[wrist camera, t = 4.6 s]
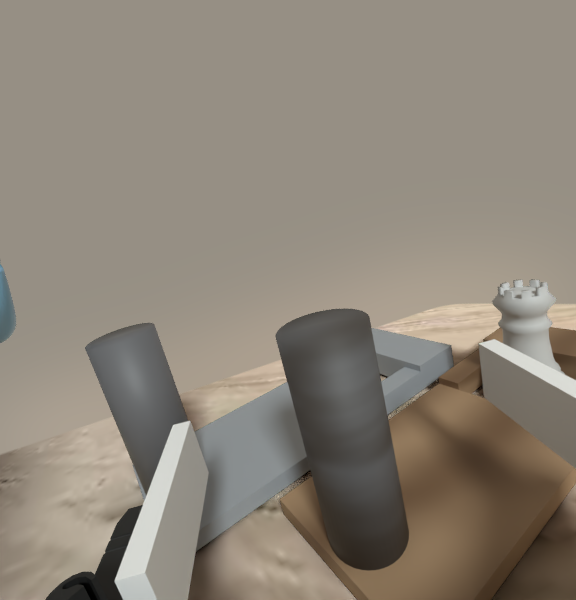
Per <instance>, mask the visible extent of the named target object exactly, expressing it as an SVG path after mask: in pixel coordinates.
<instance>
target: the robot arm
mask: <svg viewBox="0 0 576 600" xmlns="http://www.w3.org/2000/svg"><path fill="white" fill-rule="evenodd" d="M15 326H16V315H15V310H14V305H13V301H12V297H11V293H10V289H9V286H8V282H7V279H6V276H5V273H4V270H3V267H2V266H1V265H0V343H2V342H4V341H5V340H7V339H8V338H9V337H10V336H11V335H12V333H13V331H14V330H15ZM478 344H479V354H480V363H481V373H482V383H483V393H484V398H486V399H487V400H488V401H489V402H491V403H492V404H493V405H495V406H496V407H497V408H498V409H500V410H501V411H502V412H503V413H505V414H506V415H507V416H509V417H510V418H511V419H512V420H514V421H515V422H516V423H518V424H519V425H520V426H521V427H523V428H524V429H525V430H527V431H528V432H529V433H530V434H532V435H533V436H534V437H536V438H537V439H538V440H539V441H541V442H542V443H543V444H545V445H546V446H547V447H548V448H550V449H551V450H552V451H554V452H555V453H556V454H557V455H559V456H560V457H561V458H562V459H564V460H565V461H566V462H568V463H569V464H570V465H571V466H573V467H574V468H575V469H576V380H574V379H572V378H570V377H568V376H566V375H564V374H562V373H560V372H558V371H556V370H555V369H553V368H551V367H549V366H547V365H545V364H543V363H541V362H539V361H537V360H535V359H533V358H531V357H529V356H527V355H525V354H523V353H521V352H519V351H517V350H515V349H513V348H511V347H509V346H507V345H505V344H503V343H501V342H499V341H497V340H495V339H493V340H490V341H486V342H482V343H478ZM208 474H209V472H208V469H207V466H206V463H205V461H204V458H203V455H202V452H201V449H200V446H199V444H198V441H197V438H196V435H195V432H194V429H193V426H192V424H191V421H187V422H183V423H179V424H175V425H173V426H172V429H171V432H170V434H169V437H168V440H167V442H166V445H165V448H164V450H163V453H162V456H161V458H160V461H159V464H158V466H157V469H156V472H155V474H154V477H153V480H152V482H151V485H150V488H149V490H148V493H147V496H146V498H145V501H144V504H143V505H141V506H137V507H134V508H130V509H128V511H127V512H126V513H125V514H124V516H123V517H122V518H121V519H120V521H119V522H118V523H117V525H116V527H115V530H114V532H113V534H112V536H111V541H109V543H108V546H107V548H106V550H105V554H104V555H103V557H102V559H101V562H100V564H99V566H98V568H97V571H96V573H95V575H94V574H93V573H92V572H81V573H78V574H76V575H73V576H71V577H70V578H68V579H67V580H65V581H63V582H62V583H61V584H60V585H58V586H57V587H56V588H55V589H54V590H53V591H52V592H51V593H50V594H49V596H48V597H47V598H46V600H188V594H189V588H190V582H191V576H192V570H193V564H194V558H195V552H196V546H197V540H198V534H199V528H200V522H201V516H202V510H203V504H204V498H205V492H206V486H207V480H208Z"/></svg>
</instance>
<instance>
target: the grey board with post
mask: <svg viewBox="0 0 576 600" xmlns="http://www.w3.org/2000/svg"><path fill="white" fill-rule="evenodd" d="M371 329H372V334H373V340H374V345H375V351H376V356H377V361H378V367H379V372H380V374H382V375H385V376H388V378H386V379H385V380H383V381H382V382H381V383H382V388H383V394H384V399H385V404H386V410H387V415H388V414H389V413H391V412H392V411H394V410H395V409H396V408H398V407H399V406H401V405H402V404H403V403H405V402H406V401H408V400H409V399H410V398H412V397H413V396H415V395H416V394H417V393H419V392H420V391H422V390H423V389H424V388H426V387H427V386H429V385H430V384H431V383H433V382H434V381H436V380H437V379H438V377H440V376H441V375H442V374H444V373H445V372H447V371H448V370H450V369H451V368H452V367H454V364H453V356H452V348H451V345H447V344H443V343H438V342H434V341H429V340H425V339H420V338H415V337H411V336H406V335H402V334H397V333H392V332H388V331H383V330H379V329H374V328H371ZM85 349H86V351H87V354H88V356H89V358H90V361H91V364H92V366H93V368H94V371H95V373H96V376H97V378H98V380H99V383H100V385H101V388H102V390H103V393H104V394H105V397H106V400H107V402H108V405H109V407H110V409H111V412H112V414H113V417H114V419H115V422H116V424H117V426H118V429H119V431H120V434H121V436H122V439H123V441H124V443H125V446H126V448H127V451H128V453H129V455H130V458H131V460H132V463H133V468H134V471H135V474H136V477H137V480H138V483H139V486H140V489H141V493H142V496H143V499H144V501H145V498H146V496H147V493H148V490H149V488H150V485H151V482H152V480H153V477H154V474H155V472H156V469H157V466H158V464H159V461H160V458H161V456H162V453H163V450H164V448H165V445H166V442H167V440H168V437H169V434H170V432H171V429H172V426H173V425H175V424H179V423H183V422H187V421H188V419H187V416H186V413H185V410H184V408H183V405H182V402H181V399H180V396H179V393H178V391H177V388H176V385H175V382H174V380H173V376H172V374H171V371H170V368H169V365H168V362H167V360H166V357H165V354H164V351H163V349H162V345H161V342H160V340H159V337H158V334H157V331H156V328H155V326H154V324H152V323H142V324H137V325H133V326H129V327H125V328H122V329H119V330H116V331H114V332H111V333H108V334H106V335H104V336H102V337H99V338H98V339H96V340H94V341H92V342H90V343H89V344H88V345H87V346H86V347H85ZM195 435H196V438H197V441H198V444H199V446H200V449H201V452H202V455H203V458H204V461H205V463H206V466H207V469H208V472H209V474H208V480H207V486H206V492H205V498H204V504H203V510H202V516H201V522H200V528H199V534H198V540H197V546H196V551H197V550H199V549H200V548H202V547H203V546H204V545H206V544H207V543H209V542H210V541H211V540H213V539H214V538H216V537H217V536H218V535H220V534H221V533H223V532H224V531H225V530H227V529H228V528H230V527H231V526H232V525H234V524H235V523H237V522H238V521H239V520H241V519H242V518H244V517H245V516H246V515H248V514H249V513H251V512H252V511H253V510H255V509H256V508H258V507H259V506H260V505H262V504H263V503H265V502H266V501H267V500H269V499H270V498H272V497H273V496H274V495H276V494H277V493H279V492H280V491H281V490H283V489H284V488H286V487H287V486H288V485H290V484H291V483H293V482H294V481H295V480H297V479H298V478H300V477H301V476H302V475H304V474H305V473H307V472H308V471H309V470H310V466H309V463H308V459H307V455H306V451H305V447H304V443H303V440H302V436H301V432H300V428H299V424H298V421H297V417H296V413H295V409H294V405H293V401H292V398H291V394H290V390H289V386H288V382H286V383H284V384H282V385H281V386H279V387H277V388H275V389H273V390H271V391H269V392H268V393H266V394H264V395H262V396H260V397H258V398H256V399H255V400H253V401H251V402H249V403H247V404H245V405H243V406H241V407H240V408H238V409H236V410H234V411H232V412H230V413H228V414H227V415H225V416H223V417H221V418H219V419H217V420H215V421H214V422H212V423H210V424H208V425H206V426H204V427H202V428H201V429H199V430H197V431H195Z"/></svg>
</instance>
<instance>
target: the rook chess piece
mask: <svg viewBox="0 0 576 600" xmlns="http://www.w3.org/2000/svg"><path fill="white" fill-rule="evenodd" d="M522 282H523V281H522V280H514V281H513V283H514V287H513V288H509V283H507V282H505V283H502V284H500V287H498V295H497V296H496V297H495V299H494V300H493V301H492V302H493V305H494V306H495V307H496V308H497V309H498V310H499V311H500V312H501V313H502V319H501V320H500V321H499V323H498V324H499V326H500V327H501V328H502V332H503V344H505V345H507V346H509V347H511V348H513V349H515V350H517V351H519V352H521V353H523V354H525V355H527V356H529V357H531V358H533V359H535V360H537V361H539V362H541V363H543V364H545V365H547V366H549V367H551V368H553V369H555V370H556V371H558V372H560V373H562V374H564V375H565V373H564V372H562V371H561V368H560V366H559V364H558V363H556V362H555V360H554V357H553V353H552V349H551V344H550V340H549V328H550V327H551V325H552V321H551V320H550V319H549V318H548V316H547V311H548V310H549V308H550V307H551V306H552V305H553V304H554V302H555V301H556V298H555V297H554V296H553V295H552V294H551V293H550V292H548V284H547V283H546V282H541V283H540V280H533V279H531V280H530V286H523V283H522Z"/></svg>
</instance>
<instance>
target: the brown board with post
mask: <svg viewBox="0 0 576 600" xmlns="http://www.w3.org/2000/svg"><path fill="white" fill-rule="evenodd" d="M493 339H495V340H497V341H499V342H501V343H503V332H502V328H501V327H500V328H499V329H498V330H496V331H495V332H493V333H492V334H490V335H489V336H487V337H486V338H485V339H483V341H484V342H486V341H490V340H493ZM276 340H277V344H278V348H279V352H280V355H281V359H282V363H283V367H284V371H285V375H286V378H287V382H288V386H289V390H290V394H291V398H292V401H293V405H294V409H295V413H296V417H297V421H298V424H299V428H300V432H301V436H302V440H303V443H304V447H305V451H306V455H307V459H308V463H309V466H310V470H311V474H312V476H311V477H310V478H308V479H307V480H306V481H304V482H303V483H302V484H300V485H299V486H297V487H296V488H295V489H293V490H292V491H291V492H289V493H288V494H286V495H285V496H284V497H282V498H281V499H280V502H281V506H282V509H283V512H284V515H285V516H286V517H287V518H288V519H289V521H290V522H291V523H292V524H293V525H294V526H295V528H296V529H297V530H298V531H299V532H300V533H301V535H302V536H303V537H304V538H305V539H306V540H307V542H308V543H309V544H310V545H311V546H312V547H313V549H314V550H315V551H316V552H317V553H318V554H319V555H320V557H321V558H322V559H323V560H324V561H325V562H326V564H327V565H328V566H329V567H330V568H331V569H332V571H333V572H334V573H335V574H336V575H337V576H338V578H339V579H340V580H341V581H342V582H343V583H344V585H345V586H346V587H347V588H348V589H349V590H350V592H351V593H352V594H353V595H354V596H355V597H356V599H357V600H491V599H492V598H493V596H494V595H495V593H496V592H497V591H498V589H499V588H500V586H501V585H502V584H503V582H504V581H505V580H506V578H507V577H508V575H509V574H510V573H511V571H512V570H513V569H514V567H515V566H516V564H517V563H518V562H519V560H520V559H521V558H522V556H523V555H524V553H525V552H526V551H527V549H528V548H529V547H530V545H531V544H532V542H533V541H534V540H535V538H536V537H537V536H538V534H539V533H540V531H541V530H542V529H543V527H544V526H545V525H546V523H547V522H548V520H549V519H550V518H551V516H552V515H553V514H554V512H555V511H556V509H557V508H558V507H559V505H560V504H561V503H562V501H563V500H564V498H565V497H566V496H567V494H568V493H569V492H570V490H571V489H572V487H573V486H574V485H575V483H576V469H575V468H574V467H573V466H571V465H570V464H569V463H568V462H566V461H565V460H564V459H562V458H561V457H560V456H559V455H557V454H556V453H555V452H554V451H552V450H551V449H550V448H548V447H547V446H546V445H545V444H543V443H542V442H541V441H539V440H538V439H537V438H536V437H534V436H533V435H532V434H530V433H529V432H528V431H527V430H525V429H524V428H523V427H521V426H520V425H519V424H518V423H516V422H515V421H514V420H512V419H511V418H510V417H509V416H507V415H506V414H505V413H503V412H502V411H501V410H500V409H498V408H497V407H496V406H495V405H493V404H492V403H491V402H489V401H488V400H487V399H485V398H482V397H479V396H476V395H473V394H472V393H473V392H474V391H475V390H476V389H478V388H479V387H480V386H481V385H483V383H482V373H481V363H480V354H479V349H478V350H476V351H475V352H473V353H472V354H471V355H469V356H468V357H466V358H465V359H464V360H462V361H461V362H459V363H458V364H457V365H455V366H454V367H452V368H451V369H450V370H448V371H447V372H445V373H444V374H442V375H441V376H440V377H438V378H439V384H438V385H437V386H435V387H434V388H432V389H431V390H430V391H428V392H427V393H425V394H424V395H423V396H421V397H420V398H419V399H417V400H416V401H414V402H413V403H412V404H410V405H409V406H408V407H406V408H405V409H403V410H402V411H401V412H399V413H398V414H397V415H395V416H394V417H392V418H391V419H390V420H388V415H387V410H386V404H385V399H384V394H383V388H382V383H381V378H380V372H379V367H378V361H377V356H376V351H375V345H374V340H373V334H372V329H371V324H370V318H369V316H368V314H366V313H365V312H363V311H360V310H355V309H332V310H326V311H320V312H315V313H312V314H308V315H305V316H302V317H299V318H297V319H295V320H293V321H291V322H289V323H287V324H285V325H284V326H283V327H281V328H280V329H279V330H278V332H277V334H276ZM549 340H550V344H551V349H552V353H553V357H554V360H555V362H556V363H558V364H559V366H560V368H561V371H562V372H564V373H565V375H566V376H568V377H570V378H572V379H574V380H576V331H575V330H567V329H560V328H553V327H550V328H549Z"/></svg>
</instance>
